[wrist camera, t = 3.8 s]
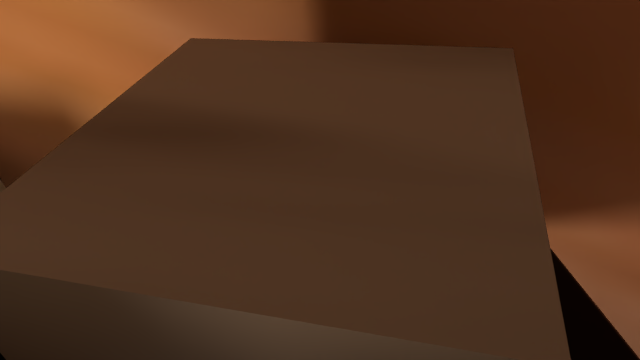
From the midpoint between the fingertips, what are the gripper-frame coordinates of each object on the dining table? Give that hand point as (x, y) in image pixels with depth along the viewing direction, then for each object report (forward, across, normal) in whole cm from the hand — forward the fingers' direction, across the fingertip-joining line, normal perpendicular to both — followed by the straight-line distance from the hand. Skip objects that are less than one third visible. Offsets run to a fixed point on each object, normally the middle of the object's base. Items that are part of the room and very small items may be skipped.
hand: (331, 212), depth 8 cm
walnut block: (+1, 0, 0) cm, 1 cm away
